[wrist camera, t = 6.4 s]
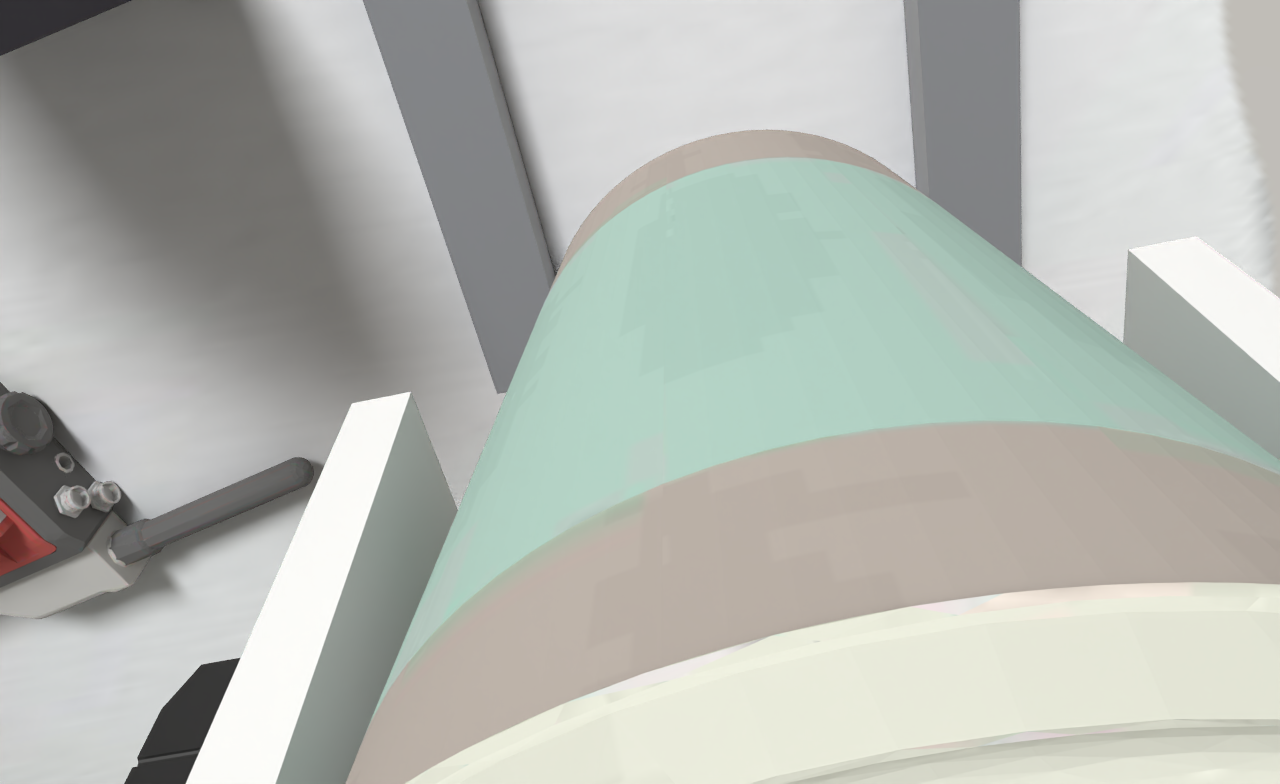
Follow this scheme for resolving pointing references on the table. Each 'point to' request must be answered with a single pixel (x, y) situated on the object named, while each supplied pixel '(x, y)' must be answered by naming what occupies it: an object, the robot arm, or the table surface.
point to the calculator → (44, 18)
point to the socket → (501, 195)
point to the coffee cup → (836, 517)
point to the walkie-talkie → (89, 517)
